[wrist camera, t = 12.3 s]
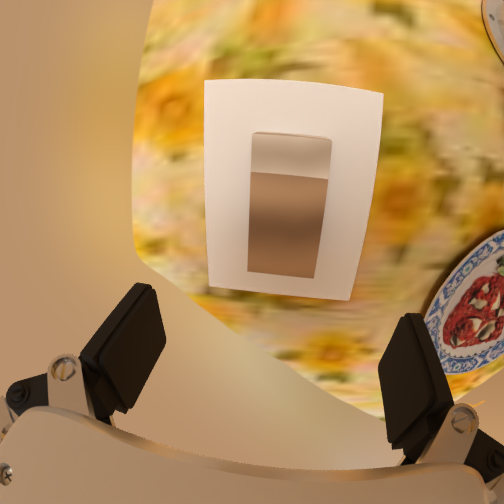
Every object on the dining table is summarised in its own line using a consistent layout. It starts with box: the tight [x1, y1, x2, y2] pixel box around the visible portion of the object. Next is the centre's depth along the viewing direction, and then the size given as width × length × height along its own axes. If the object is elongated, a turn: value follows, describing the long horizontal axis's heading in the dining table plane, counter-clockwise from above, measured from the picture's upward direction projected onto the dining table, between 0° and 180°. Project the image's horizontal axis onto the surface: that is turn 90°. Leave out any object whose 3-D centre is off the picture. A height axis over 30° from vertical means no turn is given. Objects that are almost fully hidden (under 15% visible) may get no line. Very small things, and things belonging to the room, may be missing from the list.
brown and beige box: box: [247, 131, 332, 279], centre depth 24 cm, size 12×6×4 cm, turn 178°
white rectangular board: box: [204, 79, 383, 301], centre depth 26 cm, size 16×22×1 cm
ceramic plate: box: [424, 230, 504, 375], centre depth 26 cm, size 26×26×3 cm
